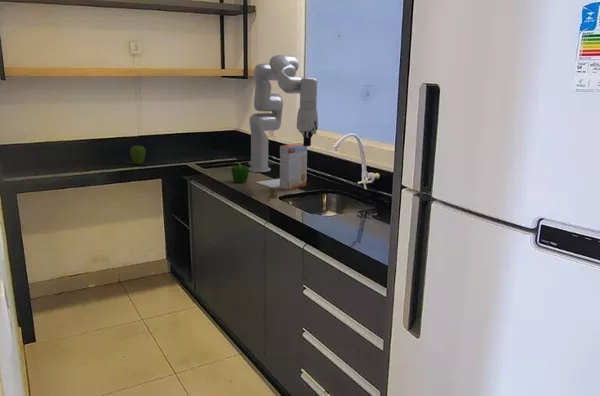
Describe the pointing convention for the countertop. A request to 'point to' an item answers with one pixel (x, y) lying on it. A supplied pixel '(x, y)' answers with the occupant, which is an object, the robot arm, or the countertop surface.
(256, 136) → the robot arm
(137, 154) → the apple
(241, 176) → the bell pepper
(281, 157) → the cracker box
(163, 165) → the countertop surface
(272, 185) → the mat
